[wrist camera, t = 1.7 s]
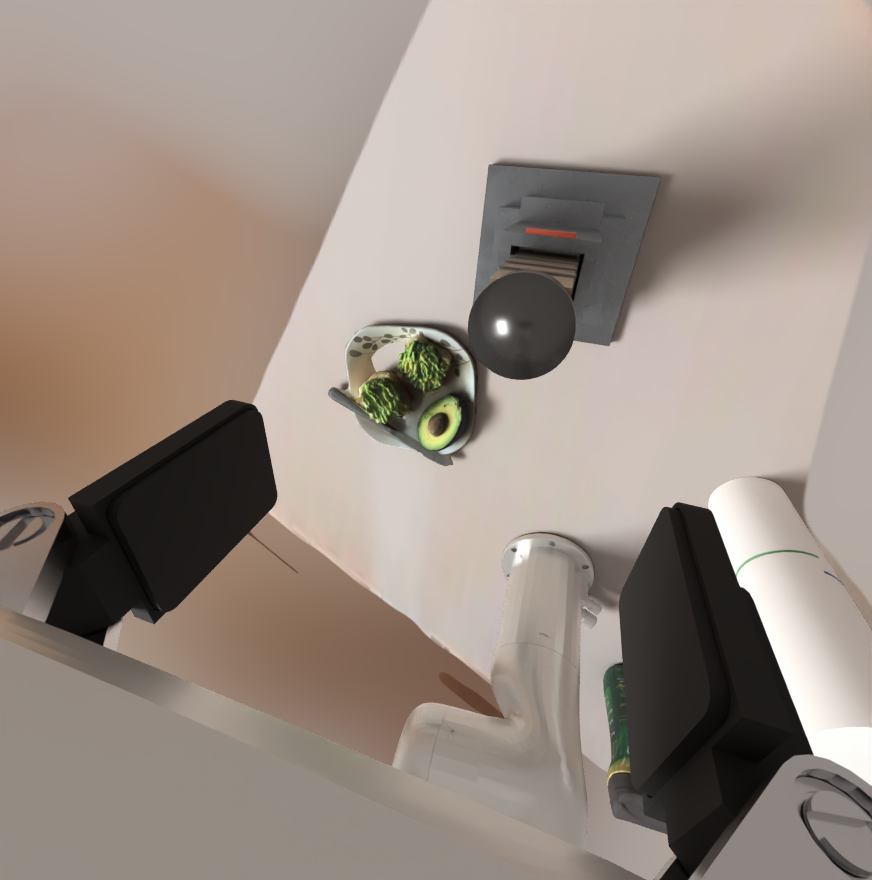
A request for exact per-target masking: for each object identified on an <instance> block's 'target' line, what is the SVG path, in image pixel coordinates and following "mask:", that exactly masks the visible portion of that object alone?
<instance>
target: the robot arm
mask: <svg viewBox="0 0 872 880" xmlns="http://www.w3.org/2000/svg"><path fill="white" fill-rule="evenodd" d="M68 499H69V501H70V502H71V504H72V506H73V508H74V510H75V511H74V512H73V513H71V514H70V515H68V516H67V514H66V513H65V511H64V509H63V508H62V506H60V505H58V504H56V503H52V502H34V503H28V504H23V505H20V506H15V507H12V508H10V509H7V510H4V511H2V512H0V880H645V879H643V878H641V877H639V876H637V875H636V874H634V873H632V872H630V871H627V870H625V869H624V868H621V867H620V866H617V865H616V864H614V863H612V862H610V861H608V860H605V859H603V858H601V857H598V856H596V855H594V854H592V853H590V852H587V851H585V850H583V849H584V847H585V843H586V838H587V833H588V803H587V793H586V785H585V777H584V769H583V761H582V751H581V739H580V717H579V685H580V637H581V623H582V624H584V625H585V626H586V627H588V628H593V627H594V626H595V624H596V622H597V618H596V616H595V615H593V614H592V613H590V612H589V611H587V610H586V609H583V608H582V607H584V606H585V607H587V608H588V609H589V610H590V611H592V612H593V613H595V614H596V615H597V614H599V613H600V612H601V609H602V607H601V606H600V605H599V604H598V603H596V602H595V601H593V600H591V599H589V596H588V590H589V589H590V587H591V586H592V583H593V580H594V570H593V565H592V562H591V560H590V558H589V557H588V555H587V554H586V553H585V552H584V551H583V550H582V549H581V548H580V547H579V546H577V545H576V544H575V543H573V542H571V541H569V540H567V539H565V538H562V537H559V536H556V535H551V534H541V533H536V534H528V535H524V536H521V537H519V538H517V539H515V540H513V541H512V542H511V543H509V544H508V546H507V547H506V548H505V550H504V553H503V556H502V565H501V566H502V570H503V573H504V575H505V577H506V579H507V580H508V581H509V582H508V587H507V591H506V596H505V601H504V606H503V611H502V616H501V621H500V626H499V631H498V636H497V641H496V645H495V650H494V655H493V660H492V666H491V683H492V688H493V692H494V695H495V698H496V700H497V703H498V705H499V707H500V709H501V711H502V713H503V715H504V717H505V719H501V718H496V717H489V716H486V715H482V714H478V713H474V712H471V711H467V710H463V709H460V708H456V707H452V706H448V705H443V704H438V703H424V704H421V705H419V706H418V707H417V708H415V709H414V711H413V712H412V713H411V715H410V716H409V718H408V720H407V722H406V724H405V727H404V729H403V732H402V734H401V737H400V740H399V744H398V747H397V750H396V754H395V757H394V761H393V764H392V767H391V766H389V765H387V764H384V763H382V762H380V761H377V760H375V759H373V758H370V757H368V756H365V755H363V754H361V753H358V752H356V751H354V750H351V749H349V748H346V747H344V746H342V745H340V744H337V743H335V742H332V741H330V740H327V739H325V738H323V737H320V736H318V735H316V734H313V733H311V732H308V731H306V730H304V729H301V728H299V727H297V726H294V725H292V724H289V723H287V722H285V721H282V720H280V719H277V718H275V717H273V716H270V715H268V714H265V713H263V712H261V711H258V710H256V709H253V708H251V707H249V706H246V705H244V704H242V703H239V702H237V701H234V700H232V699H229V698H227V697H225V696H222V695H220V694H218V693H215V692H213V691H210V690H208V689H205V688H203V687H201V686H198V685H196V684H193V683H191V682H188V681H186V680H184V679H182V678H179V677H177V676H174V675H172V674H169V673H167V672H164V671H162V670H160V669H157V668H155V667H152V666H150V665H147V664H145V663H142V662H140V661H138V660H135V659H133V658H130V657H128V656H125V655H123V654H121V653H118V652H116V648H117V644H118V640H119V635H120V631H121V626H122V622H123V616H124V615H125V614H126V613H127V612H128V611H130V610H131V611H132V613H133V614H134V616H135V617H137V618H140V619H142V620H145V621H147V622H150V623H153V624H155V623H156V622H157V621H158V620H159V619H160V618H161V617H162V616H163V615H164V614H165V613H166V612H168V611H171V610H173V609H175V608H176V607H177V606H178V605H179V604H180V603H181V602H182V601H183V600H184V599H185V598H186V597H187V596H188V595H189V593H191V591H192V590H193V589H194V588H195V587H196V586H197V585H198V584H199V583H200V582H201V581H202V580H203V579H204V578H205V577H206V576H207V575H208V574H209V573H210V572H211V571H212V570H213V569H214V568H215V567H216V566H217V565H218V564H219V563H220V562H221V560H222V559H223V558H224V557H225V556H226V555H227V554H228V553H229V552H230V551H231V550H232V549H233V548H234V547H235V546H236V545H237V544H238V543H239V542H240V541H241V540H242V539H243V537H245V536H246V535H247V534H248V533H249V532H250V531H251V529H252V528H253V527H254V526H255V525H256V524H257V523H258V522H259V521H260V520H261V519H262V518H263V517H264V516H265V515H266V514H267V513H268V512H269V511H270V510H271V509H272V508H273V506H274V505H275V503H276V500H277V489H276V484H275V479H274V474H273V469H272V464H271V459H270V453H269V448H268V443H267V438H266V433H265V428H264V422H263V418H262V415H261V413H260V412H258V410H257V408H256V407H255V406H254V405H252V404H249V403H244V402H240V401H236V400H229V401H226V402H225V403H223V404H221V405H219V406H218V407H216V408H215V409H213V410H211V411H210V412H208V413H206V414H205V415H203V416H201V417H200V418H198V419H197V420H195V421H193V422H192V423H190V424H188V425H187V426H185V427H183V428H182V429H180V430H178V431H177V432H176V433H174V434H172V435H170V436H169V437H167V438H165V439H164V440H162V441H161V442H159V443H157V444H156V445H154V446H152V447H151V448H149V449H147V450H146V451H144V452H142V453H141V454H139V455H138V456H136V457H134V458H133V459H131V460H129V461H128V462H126V463H124V464H123V465H121V466H119V467H118V468H116V469H115V470H113V471H111V472H110V473H108V474H106V475H105V476H103V477H102V478H100V479H98V480H96V481H95V482H93V483H92V484H90V485H88V486H87V487H85V488H83V489H82V490H80V491H78V492H77V493H75V494H74V495H72V496H70V497H69V498H68ZM619 614H620V629H621V643H622V658H623V673H624V687H625V702H626V716H627V731H628V746H629V760H630V775H631V782H632V786H633V788H634V789H635V790H636V791H639V792H641V793H642V799H643V811H644V815H646V816H648V817H651V818H653V819H656V820H658V821H661V822H664V823H666V826H667V834H668V842H669V847H670V848H671V850H672V851H673V852H674V854H673V855H672V857H671V858H670V859H669V861H668V862H667V863H666V864H665V865H664V867H663V868H662V869H661V871H660V872H659V873H658V874H657V876H656V877H655V878H654V879H653V880H872V786H871V785H870V784H868V783H867V782H865V781H864V780H863V779H861V778H860V777H859V776H857V775H856V774H855V773H853V772H852V771H851V770H849V769H847V768H845V767H843V766H841V765H839V764H837V763H835V762H833V761H831V760H829V759H826V758H822V757H818V756H814V754H813V752H812V749H811V746H810V744H809V741H808V739H807V736H806V734H805V731H804V728H803V726H802V723H801V721H800V718H799V716H798V713H797V710H796V708H795V705H794V703H793V700H792V698H791V695H790V692H789V690H788V687H787V685H786V682H785V680H784V677H783V675H782V672H781V669H780V667H779V664H778V662H777V659H776V657H775V654H774V651H773V649H772V646H771V644H770V641H769V639H768V636H767V633H766V631H765V628H764V626H763V623H762V621H761V618H760V615H759V613H758V610H757V608H756V605H755V603H754V600H753V598H752V597H751V595H750V593H749V592H748V591H747V590H746V589H745V588H743V587H740V585H739V583H738V580H737V577H736V575H735V572H734V569H733V566H732V564H731V561H730V558H729V556H728V553H727V550H726V547H725V545H724V542H723V539H722V537H721V534H720V531H719V528H718V526H717V523H716V520H715V518H714V515H713V513H712V511H711V510H709V509H706V508H702V507H697V506H693V505H688V504H684V503H680V502H678V503H676V504H675V505H674V506H673V507H672V508H669V507H664V508H663V509H662V510H661V512H660V514H659V516H658V518H657V520H656V522H655V524H654V526H653V528H652V530H651V532H650V534H649V536H648V538H647V540H646V543H645V545H644V547H643V549H642V551H641V553H640V555H639V557H638V559H637V561H636V563H635V565H634V567H633V569H632V571H631V573H630V575H629V577H628V579H627V581H626V584H625V586H624V588H623V590H622V592H621V596H620V601H619Z"/></svg>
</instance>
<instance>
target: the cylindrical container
mask: <svg viewBox="0 0 872 880" xmlns="http://www.w3.org/2000/svg"><path fill="white" fill-rule="evenodd" d="M708 507H709V510H711V511H712V513H713V515H714V518H715V520H716V523H717V526H718V528H719V531H720V534H721V537H722V539H723V542H724V545H725V547H726V550H727V553H728V556H729V558H730V561H731V564H732V566H733V569H734V572H735V575H736V577H737V580H738V583H739V585H740V587H743V588H745V589H746V590H747V591H748V592H749V593H750V595H751V597H752V598H753V600H754V603H755V605H756V608H757V610H758V613H759V615H760V618H761V621H762V623H763V626H764V628H765V631H766V633H767V636H768V639H769V641H770V644H771V646H772V649H773V651H774V654H775V657H776V659H777V662H778V664H779V667H780V669H781V672H782V675H783V677H784V680H785V682H786V685H787V687H788V690H789V692H790V695H791V698H792V700H793V703H794V705H795V708H796V710H797V713H798V716H799V718H800V721H801V723H802V726H803V728H804V731H805V734H806V736H807V739H808V741H809V744H810V746H811V749H812V752H813V754H814V756H818V757H822V758H826V759H829V760H831V761H833V762H835V763H837V764H839V765H841V766H843V767H845V768H847V769H849V770H851V771H852V772H853V773H855V774H856V775H857V776H859V777H860V778H861V779H863V780H864V781H865V782H867V783H868V784H870V785H871V786H872V630H871V629H870V627H869V625H868V624H867V622H866V621H865V619H864V617H863V616H862V614H861V613H860V611H859V609H858V608H857V606H856V605H855V603H854V601H853V600H852V598H851V597H850V595H849V593H848V592H847V590H846V589H845V587H844V586H843V584H842V582H841V581H840V579H839V578H838V576H837V574H836V573H835V571H834V570H833V568H832V567H831V565H830V563H829V562H828V560H827V559H826V557H825V556H824V554H823V552H822V551H821V549H820V548H819V546H818V544H817V543H816V541H815V540H814V538H813V537H812V535H811V533H810V532H809V530H808V529H807V527H806V525H805V524H804V522H803V521H802V519H801V517H800V516H799V514H798V513H797V511H796V509H795V508H794V506H793V505H792V503H791V501H790V500H789V498H788V497H787V495H786V493H785V492H784V491H783V489H782V488H781V487H780V486H779V485H777V484H776V483H774V482H772V481H770V480H767V479H763V478H758V477H744V478H738V479H734V480H731V481H728V482H726V483H724V484H722V485H721V486H719V487H718V488H717V489H716V490H715V491H714V492H713V493H712V494H711V496H710V499H709V503H708Z"/></svg>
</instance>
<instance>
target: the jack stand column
mask: <svg viewBox="0 0 872 880" xmlns="http://www.w3.org/2000/svg"><path fill="white" fill-rule="evenodd" d="M579 254H580V253H572V252H564V251H555V250H546V249H538V248H529V247H519V250H518V251H517V252H516V253H515V254H514V255H510V258H509V260H507V259H505V261H504V265H499V266H498V270H497V271H496V272H495V273H494V274H493V275H492V276H491V277H490V282H489V285H488V286H487V287H486V288H485V289H484V290H483V291H482V293H481V294H480V295H479V296H478V298H477V299H476V301H475V302H474V305H473V307H472V309H471V312H470V315H469V321H468V334H469V339H470V343H471V346H472V349H473V351H474V353H475V354H476V356H477V357H478V359H479V360H480V361H481V362H482V363H483V364H484V365H485V366H486V367H487V368H488V369H490V370H491V371H492V372H494V373H496V374H498V375H500V376H503V377H506V378H510V379H517V380H525V379H532V378H536V377H539V376H542V375H544V374H546V373H548V372H550V371H551V370H553V369H554V368H556V367H557V366H558V365H559V364H560V363H561V362H562V361H563V360H564V358H565V357H566V355H567V354H568V352H569V350H570V348H571V346H572V344H573V341H574V337H575V330H576V310H575V306H574V303H573V300H572V298H571V297H572V293H573V289H574V284H575V280H576V276H577V274H576V273H577V269H578V268H577V267H578V259H579Z"/></svg>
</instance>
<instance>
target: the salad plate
mask: <svg viewBox="0 0 872 880" xmlns="http://www.w3.org/2000/svg"><path fill="white" fill-rule="evenodd" d="M396 341H408V343H407V344H406V346H405V350H404V353H402V354H399V356H398V357H399V359H400V360H401V361H400V363H399V364H398V366H397V367H398V370H396V371H394V372H392V373H391V372H388V371H379V372H376V371H375V369H374V367H373V364H372V360H371V357H372V356H373V354H374V353H375V352H376V351H377V350H378V349H380V348H381V347H383V346H384V345H386V344H389V343H393V342H396ZM345 359H346V366H347V374H348V379H349V386H348V388H347V389H345V390H343V389H338V388H335V387H332V388H331V389H330V390H329V391H328V395H329V397H331V398H332V399H333V400H334V401H336V402H338V403H339V404H341V405H343V406H344V407H346V408H348V409H350V410H351V411H353V413H354V415H355V418H356V420H357V422H358V424H359V425H360V427H361V428H362V429H363V430H364V432H365V433H366V434H367V435H368V436H369V437H371V438H372V439H373V440H374V441H376V442H378V443H380V444H384V445H387V446H392V447H398V448H405V449H411V450H417V451H418V452H421V453H422V454H423V455H424V456H425V457H427V458H428V459H430V460H432V461H434V462H436V463H438V464H441V465H443V466H448V465H453V462H452V460H451V456H452V454H453V453H454V452H455V451H457V450H458V449H460V448H461V447H463V446H464V444H466V443H467V441H468V439H469V438H470V437H471V435H472V432H473V428H474V419H475V413H476V390H477V379H478V376H477V367H476V361H475V359H474V357H473V355H472V354H471V353H470V351H469V350H468V349H467V348H466V347H465V346H464V344H463V343H462V342H461V341H460V340H459V339H457V338H456V337H454V336H453V335H452V334H450V333H448V332H446V331H444V330H441V329H438V328H435V327H431V326H425V325H421V326H396V325H379V326H367V327H365V328H363V329H361V330H360V331H357V332H356V333H355V334H354V336H353V337H352V338H351V340H350V341H349V342H348V343H347V345H346V351H345ZM403 416H405V417H406V420H403V419H402V417H403Z"/></svg>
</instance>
